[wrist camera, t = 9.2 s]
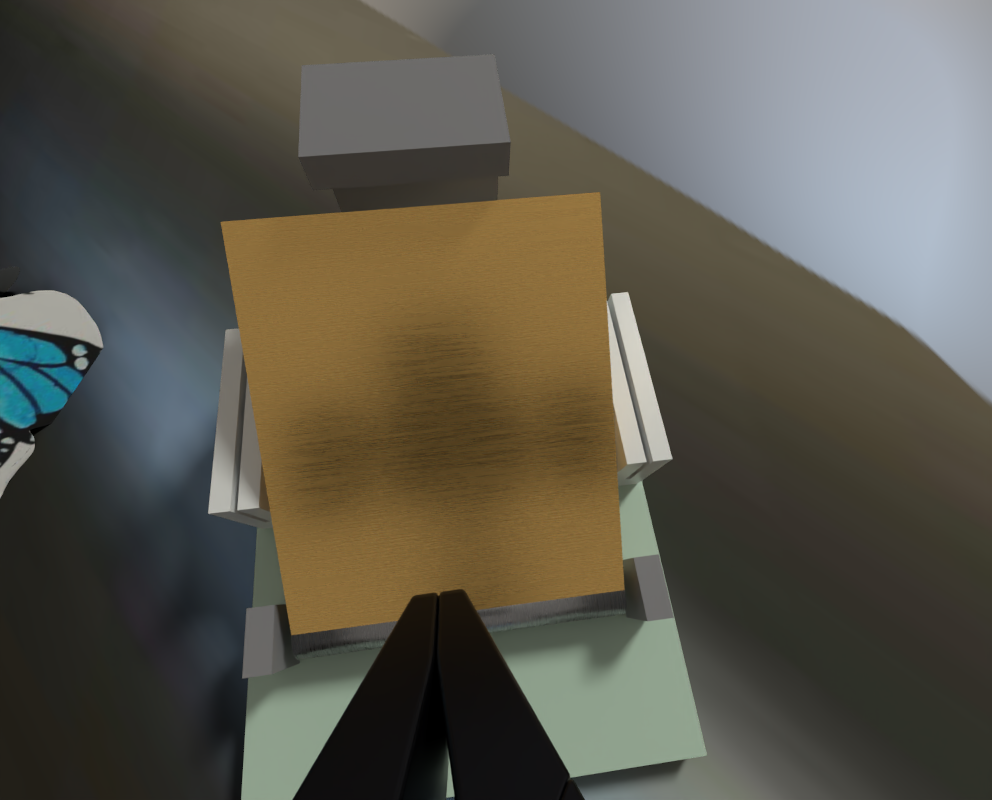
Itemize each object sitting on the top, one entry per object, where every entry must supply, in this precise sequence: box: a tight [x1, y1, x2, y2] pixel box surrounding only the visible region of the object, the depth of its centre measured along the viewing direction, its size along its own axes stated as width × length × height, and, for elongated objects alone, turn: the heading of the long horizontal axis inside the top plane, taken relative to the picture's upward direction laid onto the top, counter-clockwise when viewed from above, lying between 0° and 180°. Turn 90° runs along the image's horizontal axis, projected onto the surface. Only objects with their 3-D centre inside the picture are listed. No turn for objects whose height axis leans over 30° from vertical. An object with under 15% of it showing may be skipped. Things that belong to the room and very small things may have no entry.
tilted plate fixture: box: [208, 54, 707, 800], centre depth 14 cm, size 20×14×10 cm
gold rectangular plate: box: [221, 192, 626, 660], centre depth 14 cm, size 1×10×13 cm
